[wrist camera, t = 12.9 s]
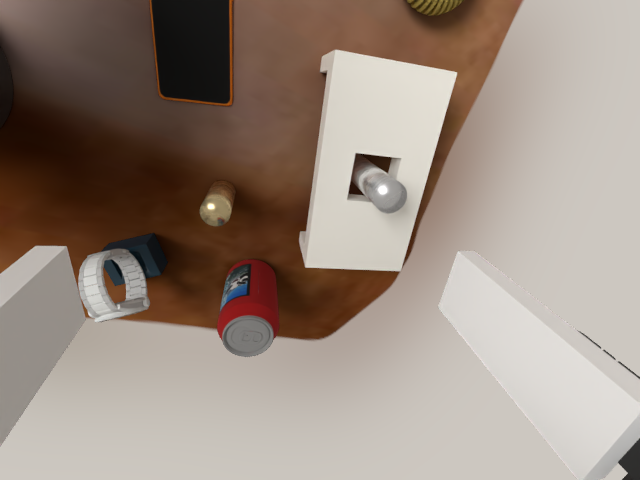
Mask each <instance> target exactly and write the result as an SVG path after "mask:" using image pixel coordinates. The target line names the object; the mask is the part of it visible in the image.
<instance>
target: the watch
mask: <svg viewBox="0 0 640 480" xmlns="http://www.w3.org/2000/svg"><path fill="white" fill-rule="evenodd" d="M87 257H88V258H86V260H85V261H84V262H83V263H82V266H81V268H80V273H79V281H80V282H79V291H80V295H81V299H82V300H83V303H84V305H85V307H86V308H87V310H88V314H89V316H90V317H92V318H96V319H95V322H102V321H107V320H112V319H116V318H120V317H123V316H127V315H131V314H134V313H138V312H141V311H144V310H146V309H148V308H149V307H148V306H149V305H150V301H149V299H148V297H147V288H146V287H147V284H146V280H145V279H146V278H150V277H154V276H158V275H161V274H162V272H163V270H164V269H165V267H166V265H167V263H168V261H167V259H166V257H165V255H164V253H163V251H162V249H161V247H160V244H159V242H158V240H157V238H156V236H155V234H154V233H152V234H147V235H143V236H139V237H134V238H130V239H126V240H121V241H117V242H113V243H109V244H108V245H107V246H106V247H105V248H104V249H103V250H102V251H101V252H99V253H95V254H91V255H88V256H87ZM103 266H104V268H105V270H106V271H107V273H108V275H109V276H110V278H111V280H112V281H113V283H114V285H115V286H117V285H121V284H125V283H126V291H127V292H126V300H125V301H123V302H119V303H114V302H112V299H111V298H110V296H109V295H108V292H107V289H106V286H103V285H105V282H104V277H102V276H103ZM129 283H130V284H129ZM94 284H96V285H94ZM90 285H91V286H90ZM86 286H87V287H86ZM82 290H84V291H82ZM128 291H129V292H128ZM94 294H95V295H94ZM90 295H91V296H90Z"/></svg>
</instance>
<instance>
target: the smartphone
mask: <svg viewBox="0 0 640 480" xmlns="http://www.w3.org/2000/svg"><path fill="white" fill-rule="evenodd" d="M149 1H150V12H151V22H152V32H153V43H154V53H155V63H156V74H157V84H158V93H159V95H160V97H161V98H163V99H166V100H175V101H184V102H194V103H203V104H212V105H221V106H230V105H231V104H232V101H233V73H232V2H233V0H149Z"/></svg>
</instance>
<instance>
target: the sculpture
mask: <svg viewBox="0 0 640 480" xmlns="http://www.w3.org/2000/svg"><path fill="white" fill-rule="evenodd" d="M462 1H464V0H444V1H443V0H417V1H416V0H407V2H408V3H411V6H412V7H413V8H415V10H416V11H418V12H421V13H422V14H425V15H426V14H427V15H431V16H432V15H440V14H444V13H447V12H448V11H451V10H453V9H454V8H455V7H456V6H458V5H460V4H461V2H462ZM420 3H421V4H420ZM440 7H441V8H440Z"/></svg>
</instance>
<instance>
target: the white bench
mask: <svg viewBox="0 0 640 480" xmlns="http://www.w3.org/2000/svg"><path fill="white" fill-rule="evenodd" d="M320 72H322V73H327V78H326V86H325V93H324V101H323V108H322V116H321V123H320V131H319V139H318V146H317V154H316V161H315V169H314V176H313V184H312V191H311V199H310V206H309V214H308V222H307V229H306V231H300V237H299V243H300V248H301V252H302V256H303V260H304V264H305V267H306V268H332V269H357V270H383V271H401V269H402V265H403V262H404V258H405V255H406V251H407V248H408V244H409V240H410V237H411V233H412V230H413V226H414V223H415V219H416V216H417V212H418V209H419V205H420V202H421V198H422V195H423V191H424V188H425V184H426V181H427V177H428V174H429V170H430V167H431V163H432V160H433V156H434V153H435V149H436V146H437V142H438V139H439V135H440V132H441V128H442V125H443V121H444V118H445V114H446V111H447V107H448V104H449V100H450V97H451V93H452V89H453V86H454V82H455V79H456V75H457V72H452V71H447V70H442V69H436V68H431V67H426V66H420V65H415V64H410V63H404V62H399V61H394V60H388V59H383V58H377V57H372V56H367V55H361V54H356V53H351V52H345V51H340V50H334V51H332V52H330V53H328V54H326V55H324V56H322V60H321V68H320ZM355 153H360V154H369V155H377V156H385V157H392V159H391V163H390V167H389V172H388V174H389V175H390V176H392V177H393V178H394V179H396V180H397V181H399V182H400V183H402V184H403V185H404V186H405V188H406V190H407V200H406V202H405V204H404V206H403V207H402V208H401V209H400V210H398V211H396V212H394V213H383V212H381V211H380V210H379V209H378V208H377V207H376V206H375V205H374V204H373V203H372V202H371V201H370V200H369V199H368V198H367V197H366V196H365V195H356V194H348V191H349V186H350V181H351V175H352V170H353V164H354V159H355Z"/></svg>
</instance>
